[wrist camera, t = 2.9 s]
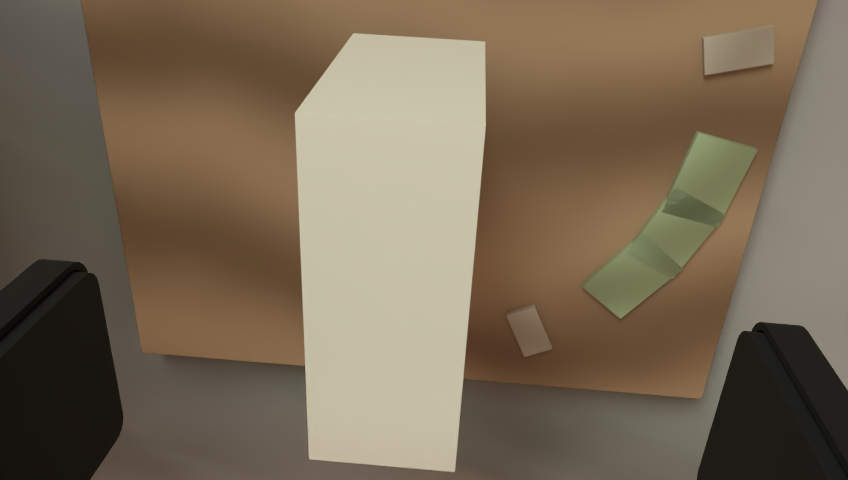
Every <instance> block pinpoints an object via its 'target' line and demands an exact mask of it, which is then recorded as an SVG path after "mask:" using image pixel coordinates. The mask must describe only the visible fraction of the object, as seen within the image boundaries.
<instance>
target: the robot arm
mask: <svg viewBox="0 0 848 480" xmlns="http://www.w3.org/2000/svg"><path fill="white" fill-rule="evenodd" d="M122 424H123V411H122V406H121V400H120V395H119V390H118V384H117V379H116V374H115V368H114V363H113V358H112V352H111V347H110V342H109V336H108V331H107V326H106V320H105V315H104V310H103V304H102V299H101V294H100V288H99V283H98V280H97V278H96V276H95V275H94V274H92V273H88V271H87V269H86V268H85V266H84V265H83V264H81V263H80V262H69V261H58V260H46V259H42V260H38V261H36V262H34V263H33V264H32V265H31V266H30V267H28V268H27V269H26V270H25V271H24V272H23V273H21V274H20V275H19V276H18V277H17V278H15V279H14V280H13V281H12V282H11V283H9V284H8V285H7V286H6V287H5V288H4V289H2V290H1V291H0V480H90V479H91V477H92V476H93V474H94V473H95V471H96V470H97V468H98V467H99V466H100V464H101V463H102V461H103V460H104V458H105V457H106V455H107V454H108V452H109V451H110V449H111V448H112V446H113V445H114V443H115V442H116V440H117V438H118V437H119V434H120V432H121V429H122ZM697 480H848V390H847V389H846V387H845V386H844V384H843V383H842V382H841V380H840V379H839V377H838V376H837V374H836V373H835V371H834V370H833V368H832V367H831V365H830V364H829V362H828V361H827V359H826V358H825V356H824V355H823V353H822V352H821V350H820V349H819V347H818V346H817V344H816V343H815V341H814V340H813V338H812V337H811V335H810V334H809V332H808V331H807V330H806V329H805V328H804V327H803V326H799V325H787V324H776V323H765V322H759V323H757V324H756V325H755V326H754V327H753V329H752V331H751V332H750V331H743V332H741V334H740V335H739V337H738V340H737V343H736V346H735V350H734V353H733V356H732V360H731V363H730V366H729V370H728V373H727V376H726V380H725V383H724V386H723V390H722V393H721V396H720V400H719V403H718V407H717V410H716V413H715V417H714V420H713V423H712V427H711V430H710V433H709V437H708V440H707V443H706V447H705V450H704V453H703V457H702V460H701V464H700V467H699V470H698V475H697Z"/></svg>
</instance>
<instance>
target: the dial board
mask: <svg viewBox="0 0 848 480" xmlns="http://www.w3.org/2000/svg"><path fill="white" fill-rule="evenodd" d="M817 2H818V0H81V5H82V10H83V16H84V22H85V28H86V33H87V39H88V45H89V51H90V56H91V62H92V68H93V74H94V79H95V85H96V91H97V97H98V102H99V108H100V114H101V119H102V125H103V131H104V137H105V142H106V148H107V154H108V160H109V165H110V171H111V177H112V183H113V188H114V194H115V200H116V206H117V211H118V217H119V223H120V229H121V234H122V240H123V246H124V252H125V257H126V263H127V269H128V275H129V280H130V286H131V292H132V298H133V303H134V309H135V315H136V321H137V326H138V332H139V338H140V344H141V349H142V353H153V354H165V355H178V356H190V357H202V358H214V359H226V360H238V361H250V362H262V363H274V364H287V365H299V366H305V348H304V324H303V300H302V276H301V252H300V228H299V204H298V179H297V155H296V131H295V112H296V111H297V109H298V108H299V107H300V105H301V104H302V102H303V101H304V100H305V98H306V97H307V96H308V94H309V93H310V92H311V90H312V89H313V87H314V86H315V85H316V83H317V82H318V81H319V79H320V78H321V77H322V75H323V74H324V72H325V71H326V70H327V68H328V67H329V66H330V64H331V63H332V62H333V60H334V59H335V58H336V56H337V55H338V53H339V52H340V51H341V49H342V48H343V47H344V45H345V44H346V43H347V41H348V40H349V38H350V37H351V36H352V34H353V33H357V34H373V35H389V36H406V37H422V38H438V39H454V40H470V41H485V78H486V130H485V141H484V152H483V163H482V174H481V185H480V197H479V208H478V219H477V230H476V241H475V253H474V264H473V275H472V286H471V297H470V308H469V320H468V331H467V342H466V353H465V364H464V375H463V379H468V380H480V381H492V382H504V383H517V384H529V385H541V386H553V387H565V388H577V389H589V390H601V391H613V392H626V393H638V394H650V395H662V396H674V397H686V398H698V399H701V398H702V395H703V391H704V388H705V384H706V381H707V378H708V374H709V371H710V367H711V364H712V361H713V357H714V354H715V350H716V347H717V343H718V340H719V337H720V333H721V330H722V326H723V323H724V320H725V316H726V313H727V309H728V306H729V302H730V299H731V296H732V292H733V289H734V285H735V282H736V278H737V275H738V272H739V268H740V265H741V261H742V258H743V255H744V251H745V248H746V244H747V241H748V237H749V234H750V231H751V227H752V224H753V220H754V217H755V214H756V210H757V207H758V203H759V200H760V196H761V193H762V190H763V186H764V183H765V179H766V176H767V173H768V169H769V166H770V162H771V159H772V155H773V152H774V149H775V145H776V142H777V138H778V135H779V132H780V128H781V125H782V121H783V118H784V114H785V111H786V108H787V104H788V101H789V97H790V94H791V90H792V87H793V84H794V80H795V77H796V73H797V70H798V67H799V63H800V60H801V56H802V53H803V49H804V46H805V43H806V39H807V36H808V32H809V29H810V26H811V22H812V19H813V15H814V12H815V8H816V5H817Z"/></svg>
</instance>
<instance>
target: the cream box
mask: <svg viewBox="0 0 848 480" xmlns="http://www.w3.org/2000/svg"><path fill="white" fill-rule="evenodd" d="M485 130H486V78H485V41H470V40H454V39H438V38H422V37H406V36H389V35H373V34H357V33H353V34H352V36H351V37H350V38H349V40H348V41H347V43H346V44H345V45H344V47H343V48H342V49H341V51H340V52H339V53H338V55H337V56H336V58H335V59H334V60H333V62H332V63H331V64H330V66H329V67H328V68H327V70H326V71H325V72H324V74H323V75H322V77H321V78H320V79H319V81H318V82H317V83H316V85H315V86H314V87H313V89H312V90H311V92H310V93H309V94H308V96H307V97H306V98H305V100H304V101H303V102H302V104H301V105H300V107H299V108H298V109H297V111H296V112H295V131H296V155H297V179H298V204H299V228H300V252H301V276H302V300H303V324H304V348H305V372H306V396H307V420H308V444H309V459H313V460H324V461H335V462H347V463H358V464H369V465H381V466H392V467H403V468H415V469H426V470H437V471H449V472H455V465H456V454H457V442H458V431H459V420H460V409H461V398H462V387H463V375H464V364H465V353H466V342H467V331H468V320H469V308H470V297H471V286H472V275H473V264H474V253H475V241H476V230H477V219H478V208H479V197H480V185H481V174H482V163H483V152H484V141H485Z"/></svg>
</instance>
